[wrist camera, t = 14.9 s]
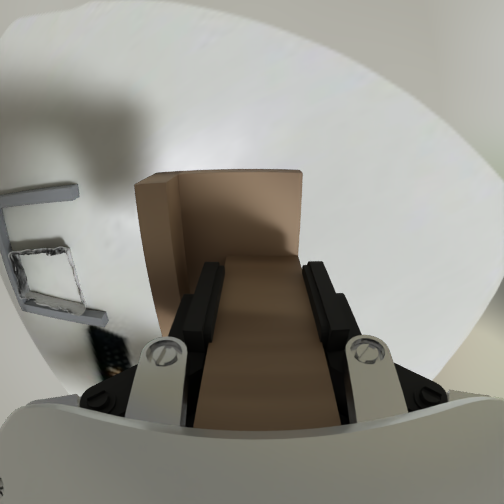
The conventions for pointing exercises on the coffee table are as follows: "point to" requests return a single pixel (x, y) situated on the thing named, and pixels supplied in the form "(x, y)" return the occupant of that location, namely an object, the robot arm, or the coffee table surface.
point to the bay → (3, 245)
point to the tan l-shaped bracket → (240, 293)
